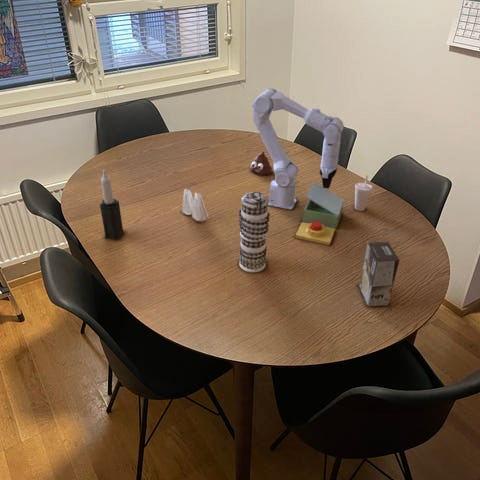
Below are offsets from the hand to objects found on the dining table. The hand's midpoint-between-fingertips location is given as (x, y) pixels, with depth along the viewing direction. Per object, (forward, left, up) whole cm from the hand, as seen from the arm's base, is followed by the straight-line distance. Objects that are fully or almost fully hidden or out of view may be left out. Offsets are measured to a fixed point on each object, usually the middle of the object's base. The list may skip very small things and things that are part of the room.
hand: (326, 187), depth 170 cm
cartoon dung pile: (-16, +252, -52) cm, 257 cm away
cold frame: (+1, -4, -10) cm, 11 cm away
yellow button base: (+1, -16, -10) cm, 20 cm away
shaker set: (-43, -21, -11) cm, 50 cm away
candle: (-64, -42, -11) cm, 78 cm away
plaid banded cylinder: (-14, -40, -11) cm, 44 cm away
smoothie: (+13, +8, -11) cm, 18 cm away
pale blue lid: (+1, -4, -2) cm, 5 cm away
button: (+1, -16, -8) cm, 18 cm away
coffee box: (+24, -41, -11) cm, 49 cm away
